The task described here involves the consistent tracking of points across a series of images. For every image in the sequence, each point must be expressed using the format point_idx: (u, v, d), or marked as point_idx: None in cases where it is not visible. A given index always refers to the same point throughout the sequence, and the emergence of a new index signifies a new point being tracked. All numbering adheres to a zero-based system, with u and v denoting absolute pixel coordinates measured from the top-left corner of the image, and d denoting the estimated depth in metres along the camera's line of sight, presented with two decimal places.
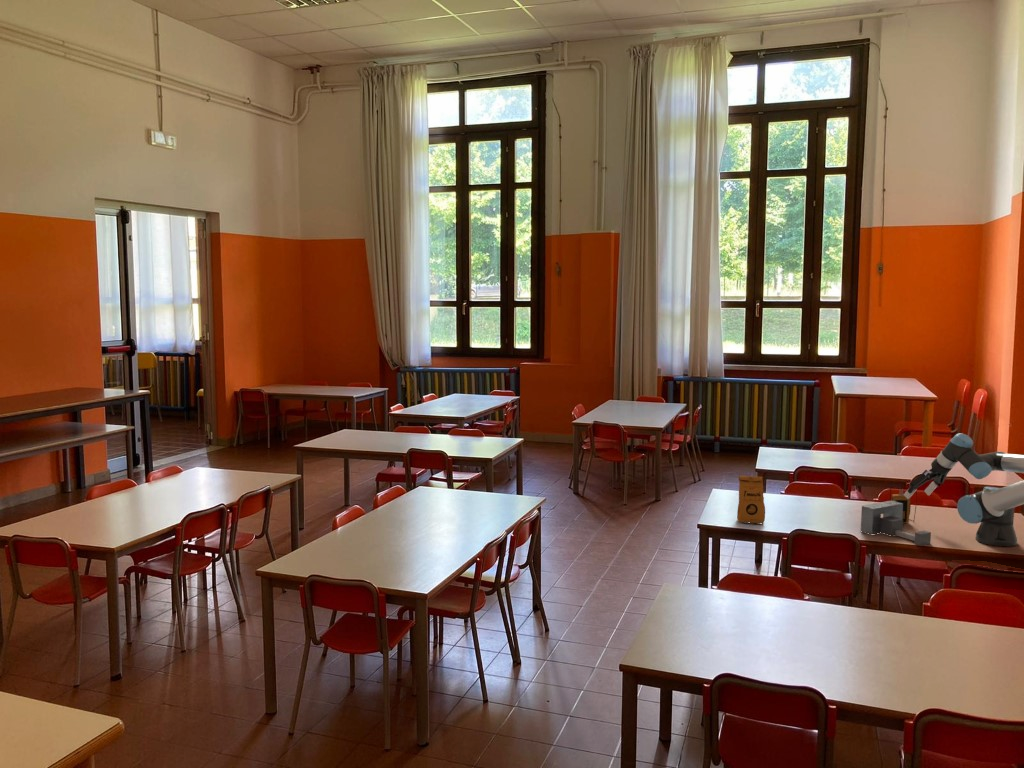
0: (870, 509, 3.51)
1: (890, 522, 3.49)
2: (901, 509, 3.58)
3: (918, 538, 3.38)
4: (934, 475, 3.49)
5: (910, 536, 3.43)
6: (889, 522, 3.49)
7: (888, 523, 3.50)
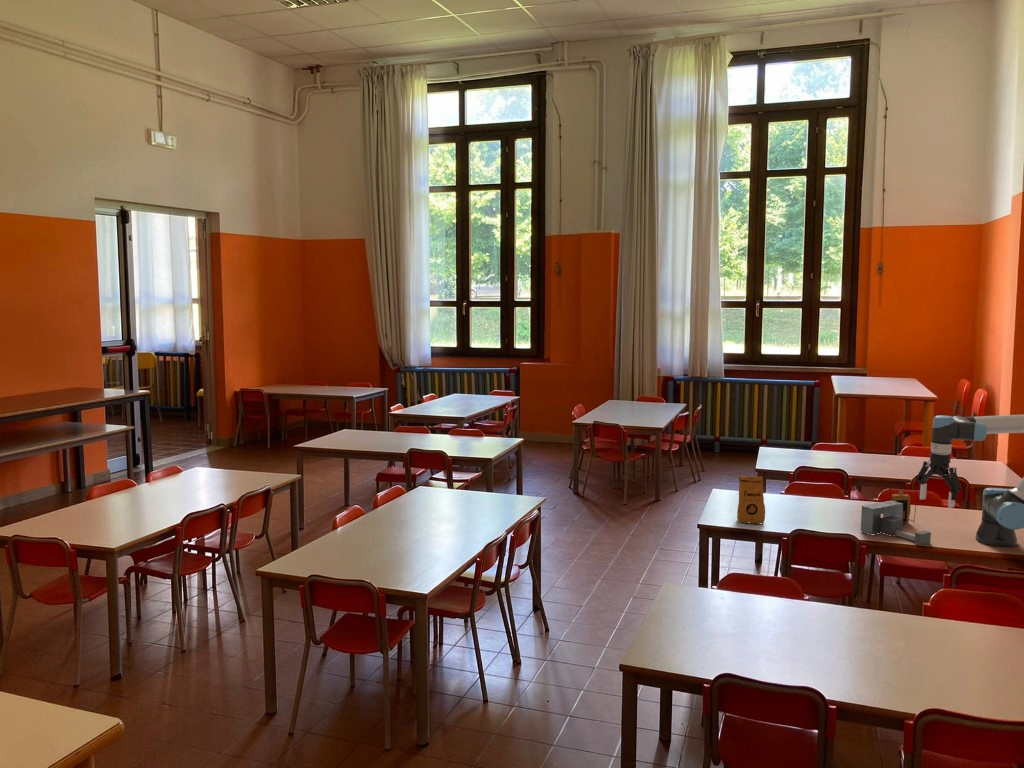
0: (870, 509, 3.51)
1: (890, 522, 3.49)
2: (901, 509, 3.58)
3: (918, 538, 3.38)
4: None
5: (910, 536, 3.43)
6: (889, 522, 3.49)
7: (888, 523, 3.50)
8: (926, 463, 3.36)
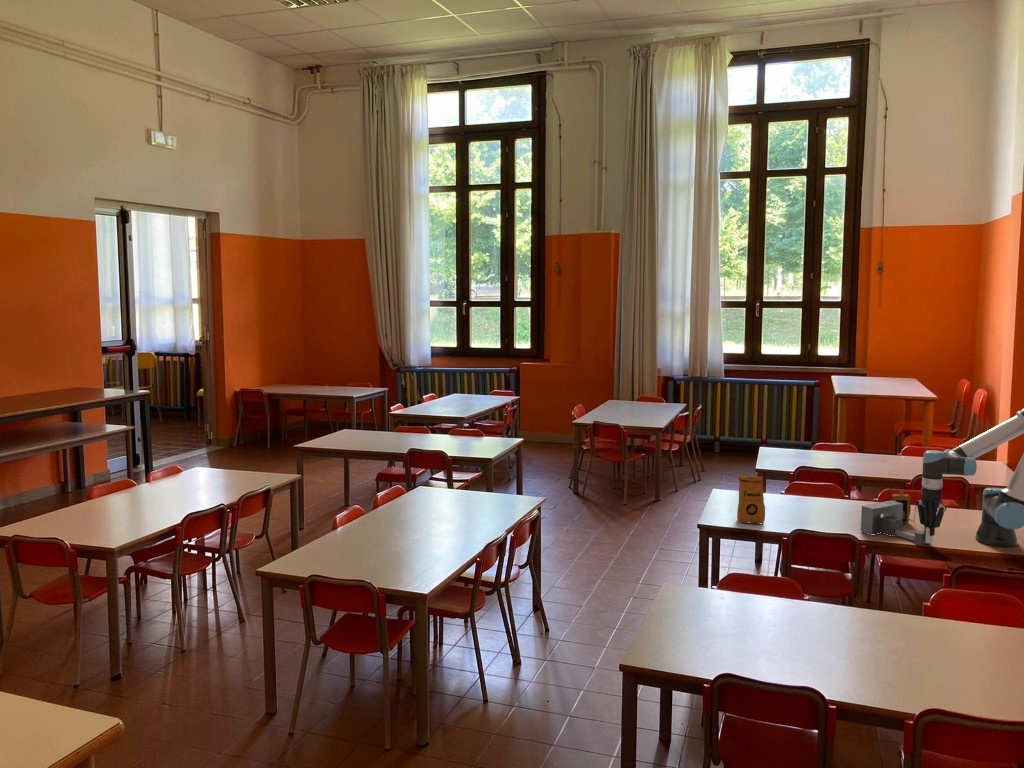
0: (870, 509, 3.51)
1: (890, 522, 3.49)
2: (901, 509, 3.58)
3: (918, 538, 3.38)
4: None
5: (910, 536, 3.43)
6: (889, 522, 3.50)
7: (888, 523, 3.50)
8: (918, 501, 3.39)
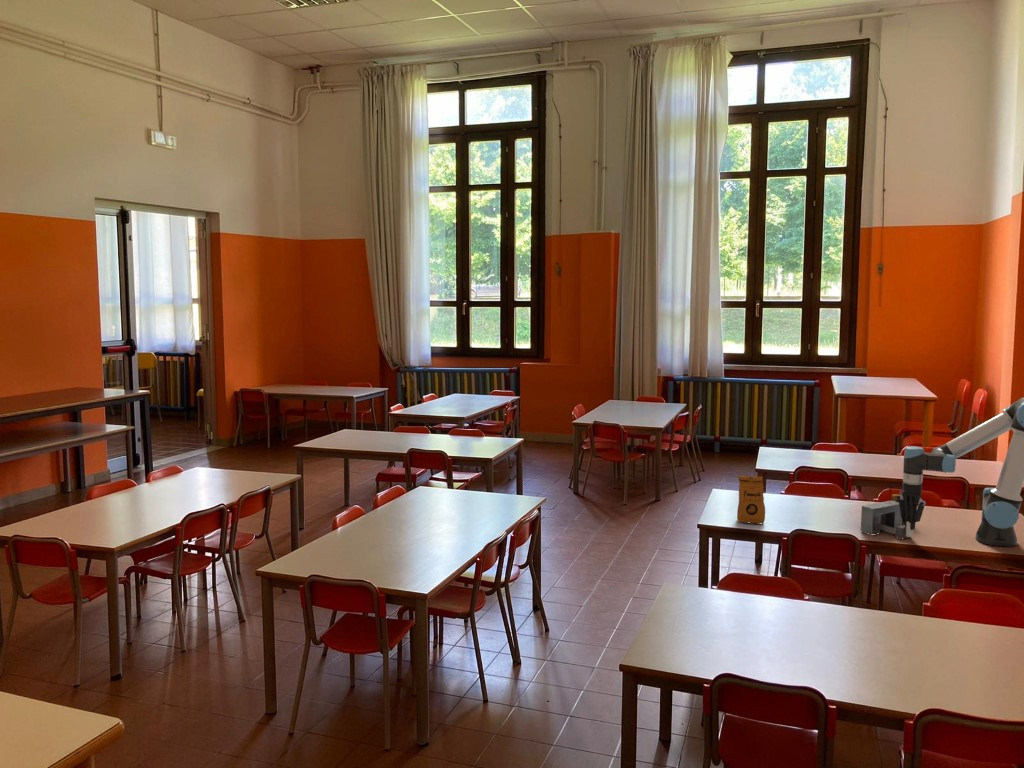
0: (870, 509, 3.51)
1: None
2: None
3: (899, 532, 3.46)
4: None
5: (892, 530, 3.52)
6: None
7: None
8: (899, 496, 3.47)
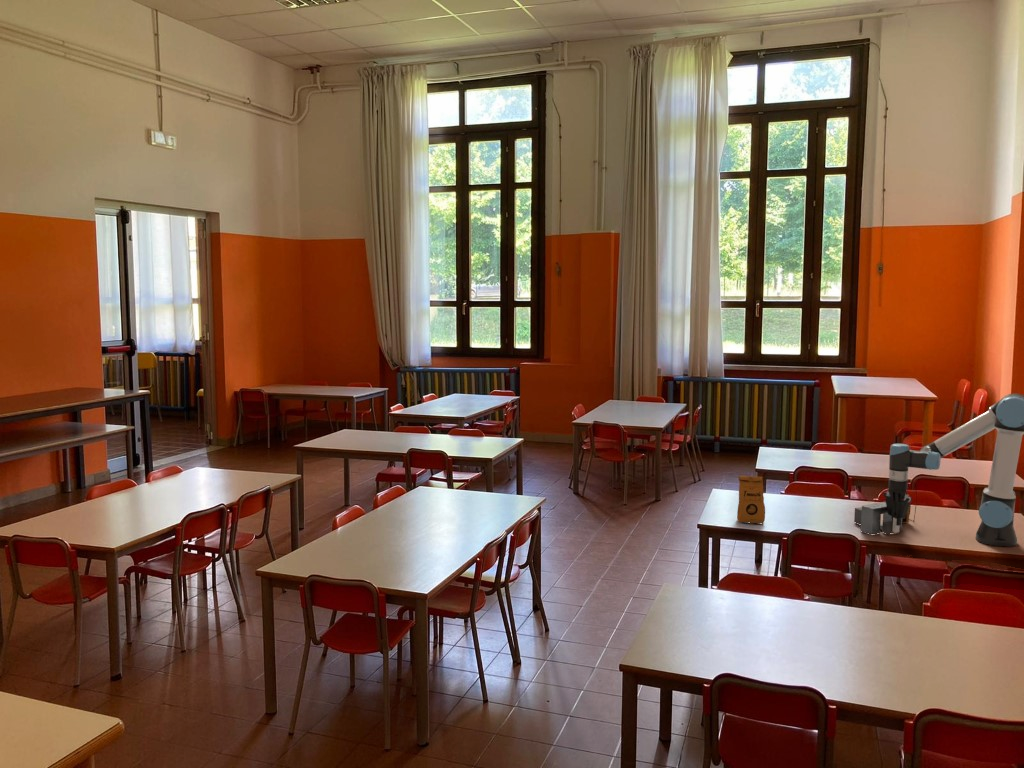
0: (870, 509, 3.51)
1: None
2: None
3: (885, 528, 3.53)
4: None
5: (880, 526, 3.58)
6: None
7: (861, 513, 3.66)
8: (886, 493, 3.53)
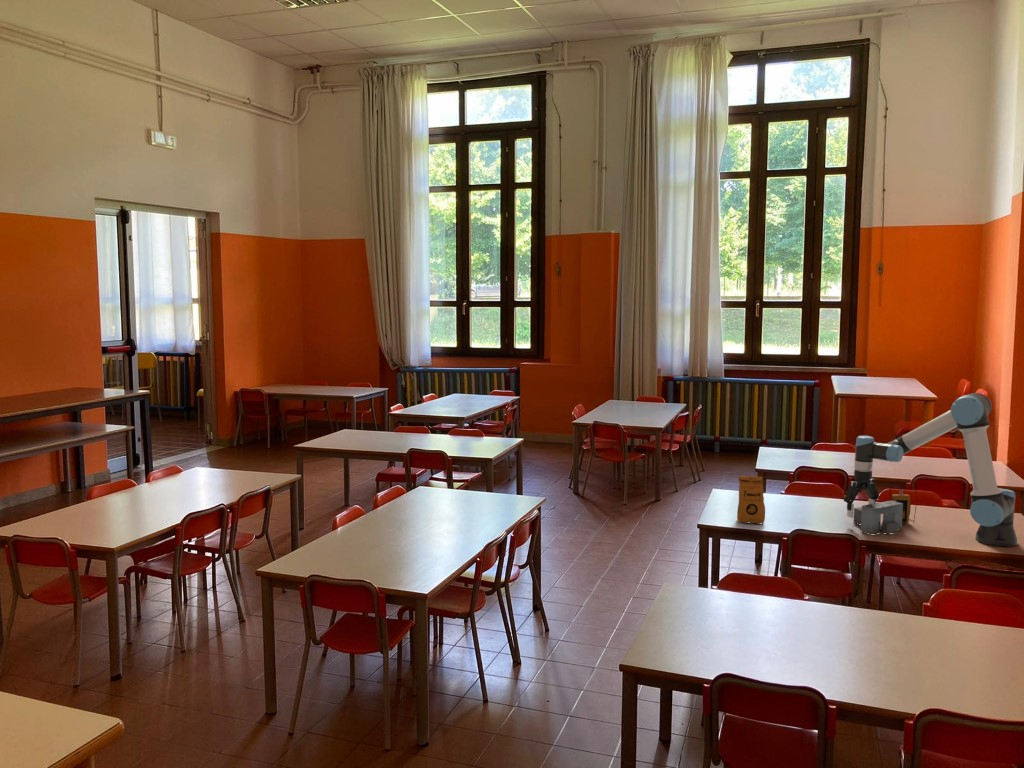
0: (870, 509, 3.51)
1: None
2: (901, 509, 3.58)
3: (885, 528, 3.53)
4: None
5: None
6: (861, 512, 3.65)
7: (860, 513, 3.66)
8: None
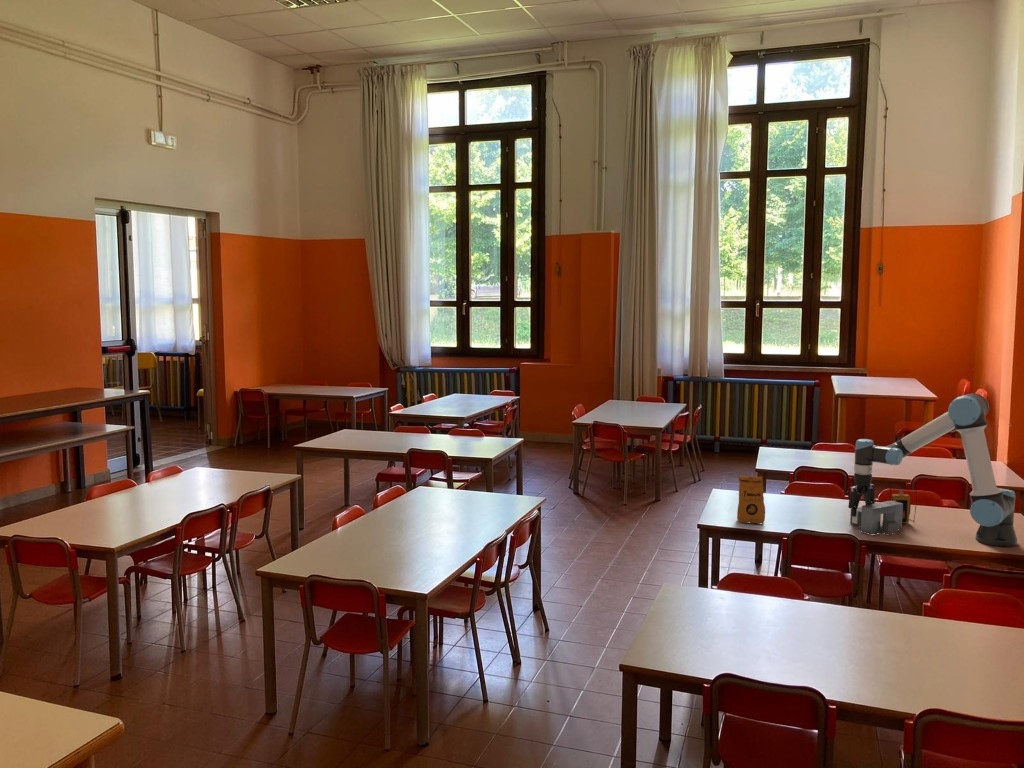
0: (870, 509, 3.51)
1: (860, 513, 3.64)
2: (901, 509, 3.58)
3: (885, 528, 3.52)
4: None
5: None
6: (859, 513, 3.64)
7: (858, 514, 3.65)
8: None
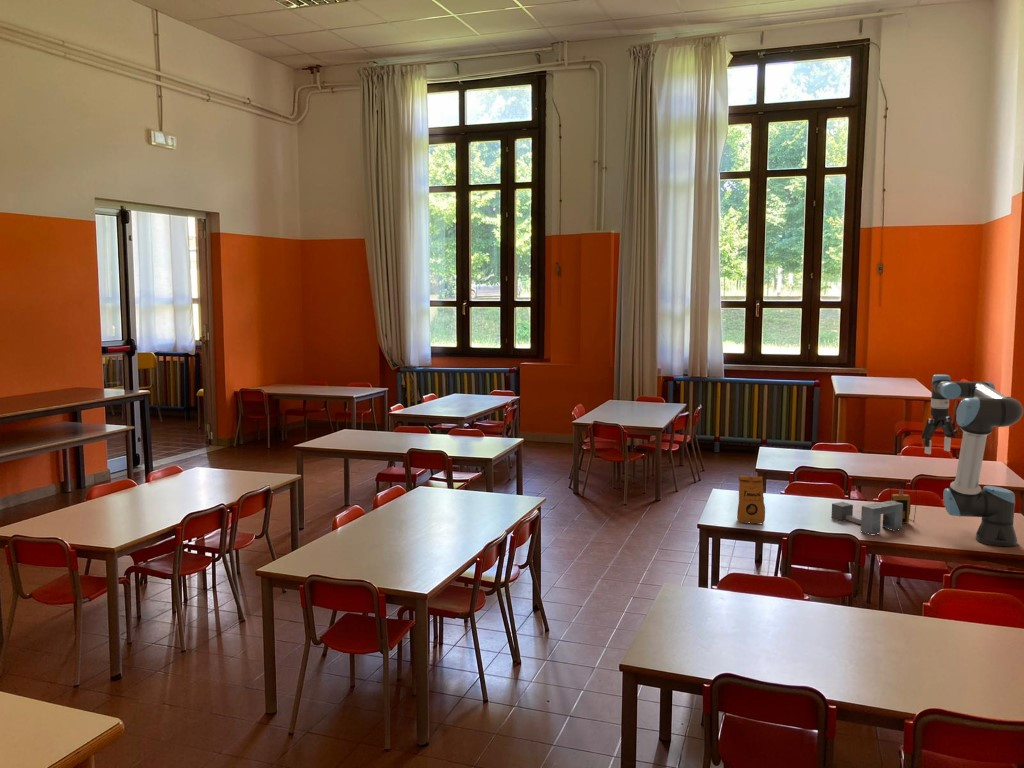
0: (870, 509, 3.51)
1: (840, 507, 3.73)
2: (901, 509, 3.58)
3: None
4: None
5: (858, 520, 3.67)
6: (840, 507, 3.73)
7: (839, 509, 3.74)
8: None
